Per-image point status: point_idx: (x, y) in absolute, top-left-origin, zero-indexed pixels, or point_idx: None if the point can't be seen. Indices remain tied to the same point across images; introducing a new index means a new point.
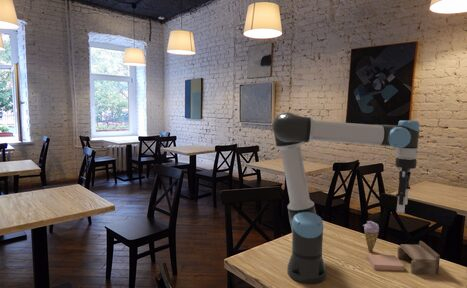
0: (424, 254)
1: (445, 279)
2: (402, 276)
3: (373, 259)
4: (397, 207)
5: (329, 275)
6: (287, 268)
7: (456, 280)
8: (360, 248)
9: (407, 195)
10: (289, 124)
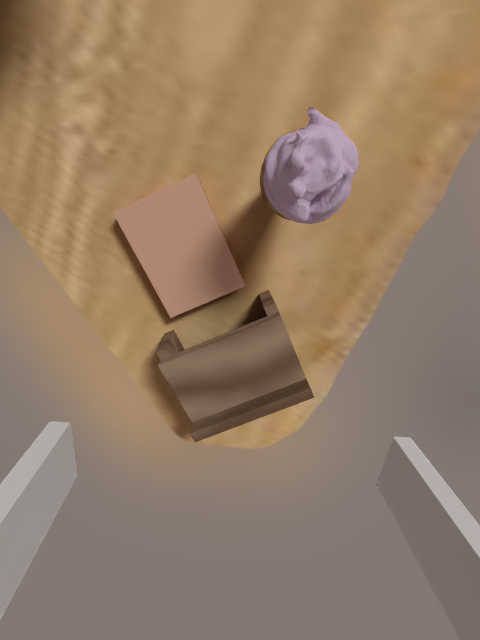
0: (217, 392)
1: (181, 411)
2: (126, 307)
3: (160, 207)
4: (23, 463)
5: None
6: None
7: None
8: None
9: (436, 589)
10: None
